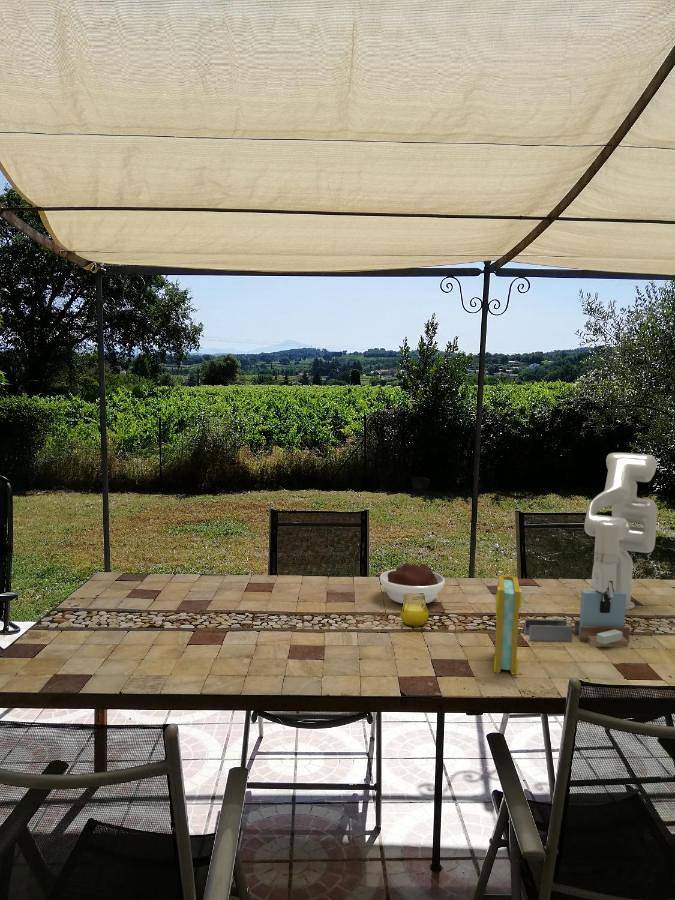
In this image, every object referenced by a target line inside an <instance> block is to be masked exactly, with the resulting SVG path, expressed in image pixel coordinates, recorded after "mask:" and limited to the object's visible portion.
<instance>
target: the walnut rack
mask: <svg viewBox="0 0 675 900" xmlns="http://www.w3.org/2000/svg"><path fill="white" fill-rule="evenodd" d="M579 623H580V619H574V625H573V635H574V636H579ZM614 629H616V630H618V631H621V632H623V633H622V637H624V638H625V639H627V640H628V644H629V642H630V630H631V629H630V627H629V626H624V627H599V626H581V630H580V637H579V642H581V643H588V642H587V637H588V636H597V634H598V633H602V632H606V631H610V630H614Z"/></svg>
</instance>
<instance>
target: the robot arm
mask: <svg viewBox="0 0 675 900" xmlns="http://www.w3.org/2000/svg"><path fill="white" fill-rule="evenodd" d="M605 462H606V463H605V464H606V468H607V470H608V471H607V476H606V479H605V480H606V481H605V487H604V490H603V491H602V492H600V493H599V494H597V495H596V496H594V498H593V499H592V500H591V502H589V504H588V506H587V509H586V510H587V511H586V514H585V515H586V516H585V517H584V518H585V519H584V532H585V534H587V535H588V536H590V537H595V539H594V551H593V552H594V556H593V566H592V572H591V573H592V574H591V582H590V584H591V586H592V588H594V589H595V591H599V592H600V593H602V601H600V612H601V613H610V603H611V598H613V593H615V591H623V592H624V593H626V607H625V611H630V610H633V609H634V608H635V605H636V604H635V603H634V602H633V601H631V600H632V599H631V598H632V585H633V571H634V569H633V568H634V563H633V559H632V557H631V555H630V554H629V552H634V553H635V552H637V553H646V554H649V553H652V552H653V551H654V549H655V547H656V536H657V535H656V534H657V522H658V521H657V518H658V507H657V504H656V502H655V501H654V500H653V499H648V498H639V497H637V492H638V484H637V482H641V483H648V482H650V481H651V480H652V479H653V477H654V475H655V473H656V469H657V460H656V457H655V456H653V455H652V454H645V453H632V452H610V453H608V455H607V456H606V459H605ZM610 506H611V516H610V515H602V514H598V512H599V511H601V510H602V509H605V508H607V507H610ZM629 523H633V524H641V526H634V525H630V524H629ZM628 551H629V552H628ZM606 591H608V592H606ZM605 594H608V595H605Z"/></svg>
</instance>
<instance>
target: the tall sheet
mask: <svg viewBox="0 0 675 900" xmlns="http://www.w3.org/2000/svg"><path fill="white" fill-rule="evenodd" d="M580 592H581V593H580V607H579V609H580V611H579V620H580V623H579V635H578V637H579V638H580V630H581V626H599V627H625V620H626V610H625V607H626V593H624V592H623V591H615V593H613V598H611V603H610V613H601V612H600V601H602V593H600V592H599V591H596V590H581V591H580ZM606 592H608V591H606ZM605 595H608V594H605Z"/></svg>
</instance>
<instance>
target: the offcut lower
mask: <svg viewBox="0 0 675 900" xmlns="http://www.w3.org/2000/svg"><path fill="white" fill-rule="evenodd" d="M596 637H597V636H588V637H587V642H586V643H588V644H589V646H590V647H615V648H616V647H617V648H619V647H621V648H625V647H626V648H627V647H628V646H629V643H628V640H627V639H625V638H624V637H622V640H618V641H615V642H611V643H607V644H602V643H599V642H597V641H596Z"/></svg>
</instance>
